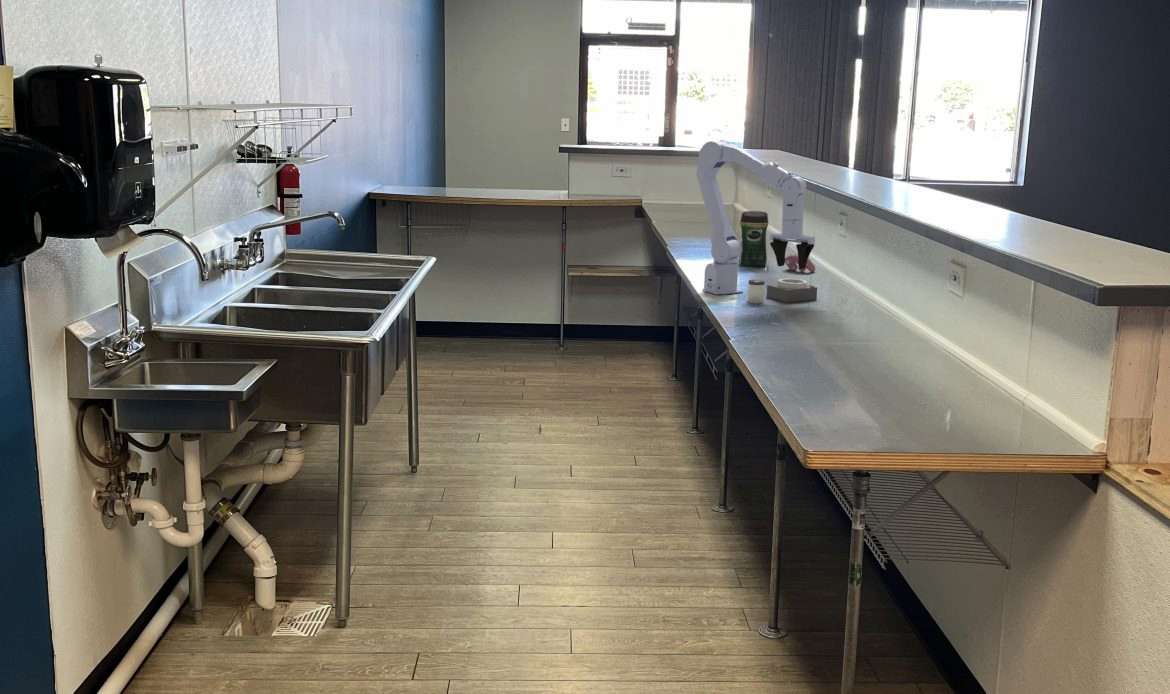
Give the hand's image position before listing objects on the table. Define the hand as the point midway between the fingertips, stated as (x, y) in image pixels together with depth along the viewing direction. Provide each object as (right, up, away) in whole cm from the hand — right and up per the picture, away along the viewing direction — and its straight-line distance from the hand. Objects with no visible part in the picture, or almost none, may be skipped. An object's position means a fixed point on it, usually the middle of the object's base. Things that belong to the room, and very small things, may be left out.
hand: (791, 267), depth 294 cm
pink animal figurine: (+13, +2, +50) cm, 52 cm away
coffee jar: (-1, +5, +60) cm, 61 cm away
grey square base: (+1, -9, +4) cm, 10 cm away
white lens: (-11, -10, -2) cm, 15 cm away
